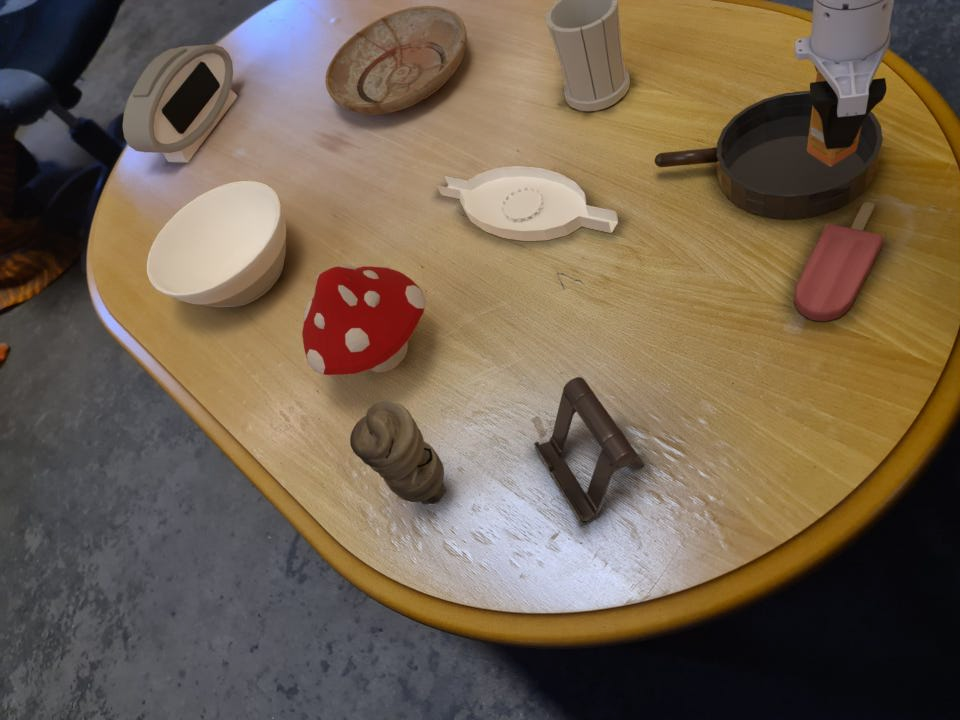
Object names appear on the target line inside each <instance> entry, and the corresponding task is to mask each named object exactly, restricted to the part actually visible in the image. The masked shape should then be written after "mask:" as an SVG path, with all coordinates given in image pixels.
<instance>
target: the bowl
mask: <svg viewBox="0 0 960 720" xmlns="http://www.w3.org/2000/svg"><path fill="white" fill-rule="evenodd" d="M286 254H287V223H286V219H285V216H284V212H283V208H282V205H281V201H280V197H279V196H278V194H277V192H276V191H275V190H274V189H273V188H271V187H270V186H269V185H267V184H266V183H262V182H259V181H254V180H241V181H239V180H238V181H233V182H228V183H225V184H221V185H219V186H217V187H214V188H211V189H210V190H208V191H206V192H204V193H202V194H200V195H198V196H197V197H195V198H194V199H192V200H191V201H189V202H188V203H187V204H186V205H184V206H183V207H182V208H180V209H179V210H178V211H177V212H176V213H175V214H174V215H173V216H172V217H171V218H170V219H169V220H168V221H167V222H166V223H165V225H164V226H163V227H162V228H161V230H160V231H159V232H158V234H157V236H156V237H155V238H154V240H153V242H152V245H151V247H150V250H149V252H148V255H147V260H146V274H147V277H148V280H149V282H150V284H151V285H152V286H153V287H154V288H155V290H157V291H158V292H160V293H162V294H164V295H166V296H169V297H172V298H173V299H175V300H179V301H181V302H185V303H188V304H193V305H198V306H203V307H213V308H238V307H243V306H245V305H248V304H251V303H253V302H255V301H257V300H259V298H262V297H263V296H265V294H267V293H268V292H269V291H270V290H271V289H272V287H274V285H275V284H276V283H277V281H278V280H279V278H280V277H281V274H282V272H283V270H284V265H285V259H286Z"/></svg>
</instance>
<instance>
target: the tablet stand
mask: <svg viewBox="0 0 960 720" xmlns="http://www.w3.org/2000/svg"><path fill="white" fill-rule="evenodd" d="M576 413H577V415H578V416H579V417H580V419H581V420H582V422H583V423H584V425H585V426H586V428H587V429H588V431H589V432H590V434H591V435H592V437H593V438H594V440H595V441H596V443H597V444H598V446H599V447H600V448H601V449H600V452H599V454H598V458H597V461H596V463H595V466H594V470H593V473H592V476H591V478H590V482H589V485H588V488H587V491H586V492H585V491H584V489H583V487H582V486H581V484H580V482H579V481H578V480H577V478H576V476H575V475H574V473H573V471H572V470H571V468H570V467H569V465H568V463H567V461H566V460H565V459H564V456H563V455H564V452H565V447H566V444H567V441H568V438H569V437H568V436H569V434H570V433H569V432H570V428H571V425H572V421H573V418H574V415H575V414H576ZM533 445H534V450H535V451H536V453H537V454H538V456H539V457H540V459H541V461H542V463H543V464H544V466H545V468H546V469H547V472H548V473H549V475H550V476H551V478H552V479H553V482H554V483H555V484H556V487H557V488H558V490H559V491H560V493H561V495H562V496H563V498H564V500H565V502H566V503H567V505H568V506H569V509H570V510H571V512H572V513H573V515H574V517H575V519H576V520H577V521H578V523H579V524H580V525H587V524H589V523H591V522H593V521H594V520H595V519H596V518H597V517H598V516H599V513H600V511H601V509H602V505H603V503H604V500H605V498H606V494H607V492H608V488H609V486H610V483H611V481H612V478H613V476H614V474H615V473H616V472H617V471H619V470H621V469H625V468H626V467H628V466H630V465H631V464H635V465H637V466H640V467H644V466H645V462H644V460H643V459H642V457H641V456H640V455H639V454H638V453H637V452H636V450H635V449H634V447H633V446H632V444H631V443H630V442H629V440H628V439H627V437H626V435H625V434H624V432H623V431H622V430H621V429H620V428H619V426H618V425H617V423H616V422H615V420H614V419H613V417H612V416H611V415H610V414H609V412H608V411H607V409H606V408H605V406H604V404H602V402H601V400H599V398H598V397H597V396H596V394H595V393H594V391H593V390H592V388H591V387H590V386H589V384H588V382H587V381H586V380H585V378H584V377H582V376H579V377H578V376H576V377H574V378H572V379H569V381H567V382H566V384H565V385H564V386H563V389H562V393H561V396H560V401H559V405H558V409H557V413H556V417H555V421H554V426H553V430H552V434H551V437H550V438H549V441H546V442H543V443H539V441H535V442H534V444H533Z"/></svg>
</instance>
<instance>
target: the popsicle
mask: <svg viewBox="0 0 960 720" xmlns="http://www.w3.org/2000/svg"><path fill="white" fill-rule="evenodd" d="M875 207H876V206H875V203H873V202H870V201H867V202H864V203H862V204H861V206H860V208H859V210H858V213H857V214H856V216H855V217H854V219H853V222H852V224H851V226H850V227H847V226H843V225H839V224H838V225H837V224H833V223H827V224H826V225H825V227H824V228H823V230H822V232H821V234H820V237H819V238H818V240H817V242H816V244H815V246H814V248H813V250H812V252H811V254H810V255H809V258H808V259H807V263H806V264H805V266H804V268H803V270H802V273H801V275H800V277H799V279H798V281H797V283H796V285H795V287H794V305H795V307H796V309H797V310H798V311H799V313H800V314H801V315H803V316H804V317H806V319H809V320H812V321H817V322H828V321H832V320H835V319H839V318H840V317H842V316H843V315H844V314H845V313H847V312H848V311H849V310H850V309H851V308H852V306H853V304H854V301H855V300H856V298H857V296H858V294H859V292H860V290H861V289H862V287H863V284H864V283H865V281H866V279H867V277H868V275H869V273H870V271H871V269H872V268H873V265H874V264H875V261H876V259H877V258H878V255H879V253H880V251H881V249H882V246H883V245H884V241H885V236H884V234H882V233H881V234H880V233H875V232H872V231H871V232H870V231H866V230H865V228H866V226H867V224H868V221H869V220H870V218H871V215H873V214H872V213H873V212H874V210H875V209H876V208H875Z"/></svg>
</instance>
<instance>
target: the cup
mask: <svg viewBox="0 0 960 720" xmlns="http://www.w3.org/2000/svg"><path fill="white" fill-rule="evenodd" d="M619 9H620V8H619V0H556V1H555V2H554V3H553V4H552V5H551V7H549V9H548V11H547V13H546V16H545V21H546V25H547V28H548V31H549V34H550V38H551V41H552V43H553V46H554V49H555V52H556V56H557V59H558V62H559V66H560V69H561V73H562V76H563V81H564V84H563V93H564V98H565V101H566V103H567V104H568V105H569V106H570V108H573V109H575V110H577V111H582V112H598V111H601V110H604V109H607V108H609V107H612V106H613V105H615V104H617V103H618V102H619V101H621V99H623V97H625V96H626V94H627V92H628V91H629V89H630V85H631V77H630V73H629V70H628V68H627V67H626V66H625V60H624V54H623V53H624V52H623V46H622V36H621V26H620V25H621V24H620V11H619Z"/></svg>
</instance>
